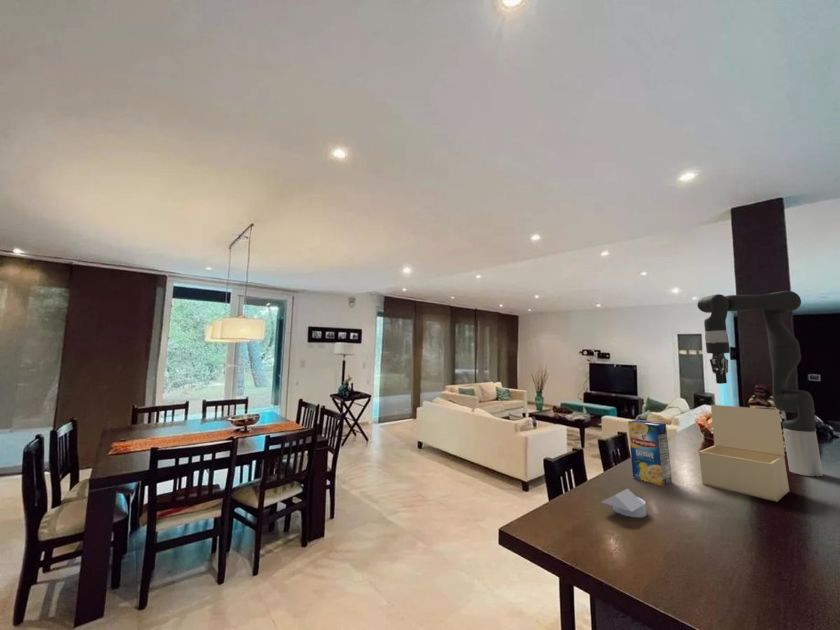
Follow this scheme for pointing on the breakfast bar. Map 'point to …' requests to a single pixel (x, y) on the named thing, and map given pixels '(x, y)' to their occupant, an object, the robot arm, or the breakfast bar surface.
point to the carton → (744, 472)
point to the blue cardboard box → (650, 451)
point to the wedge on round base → (627, 504)
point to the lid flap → (748, 429)
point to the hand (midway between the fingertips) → (721, 383)
